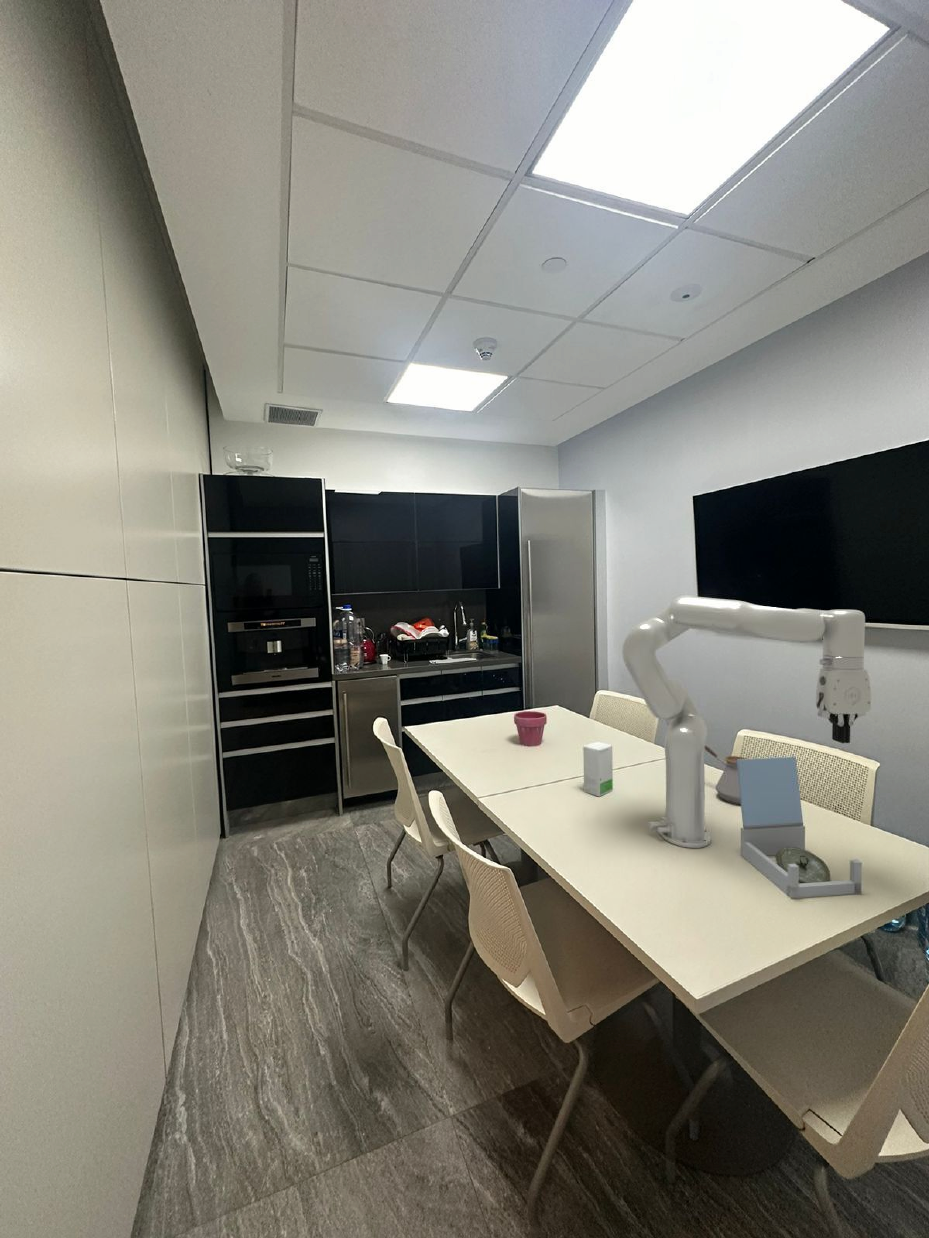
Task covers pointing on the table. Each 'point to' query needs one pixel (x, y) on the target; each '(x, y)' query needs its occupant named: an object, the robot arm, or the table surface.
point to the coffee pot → (728, 779)
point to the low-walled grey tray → (770, 842)
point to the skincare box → (598, 768)
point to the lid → (803, 864)
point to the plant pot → (530, 727)
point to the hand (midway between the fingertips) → (840, 741)
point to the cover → (769, 792)
